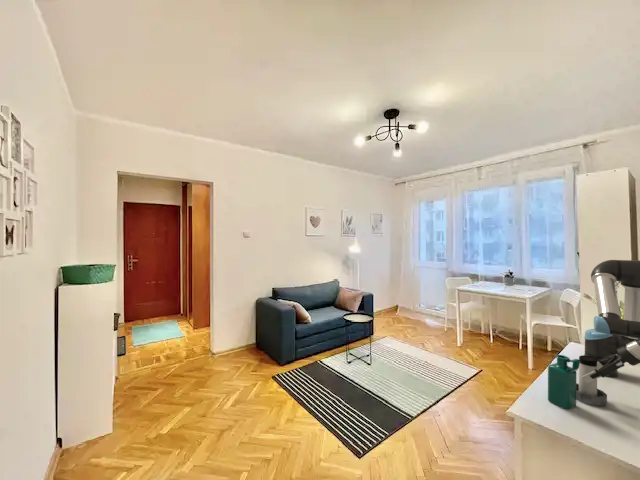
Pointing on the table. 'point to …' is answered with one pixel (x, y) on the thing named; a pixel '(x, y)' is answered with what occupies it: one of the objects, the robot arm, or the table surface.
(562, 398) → the green bottle
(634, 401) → the table surface
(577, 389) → the ring collar
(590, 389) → the travel mug
